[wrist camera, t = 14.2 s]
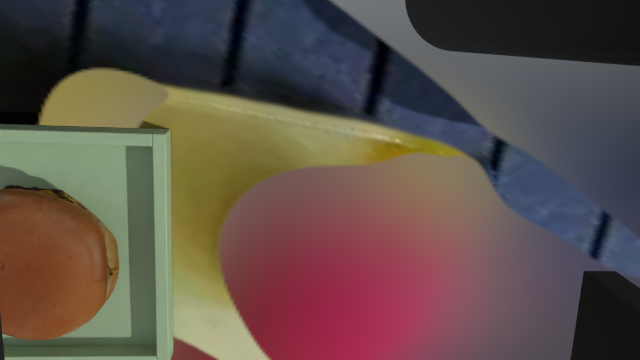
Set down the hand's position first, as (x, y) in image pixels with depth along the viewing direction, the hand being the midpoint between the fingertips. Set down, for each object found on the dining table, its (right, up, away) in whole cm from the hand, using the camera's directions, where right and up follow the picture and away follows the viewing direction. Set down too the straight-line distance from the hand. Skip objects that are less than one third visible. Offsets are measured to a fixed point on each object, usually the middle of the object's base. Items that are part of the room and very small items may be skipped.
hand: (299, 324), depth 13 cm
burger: (-17, -1, +25) cm, 31 cm away
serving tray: (-17, -1, +26) cm, 31 cm away
